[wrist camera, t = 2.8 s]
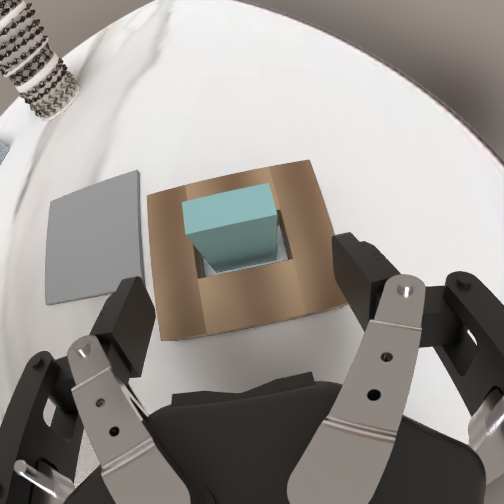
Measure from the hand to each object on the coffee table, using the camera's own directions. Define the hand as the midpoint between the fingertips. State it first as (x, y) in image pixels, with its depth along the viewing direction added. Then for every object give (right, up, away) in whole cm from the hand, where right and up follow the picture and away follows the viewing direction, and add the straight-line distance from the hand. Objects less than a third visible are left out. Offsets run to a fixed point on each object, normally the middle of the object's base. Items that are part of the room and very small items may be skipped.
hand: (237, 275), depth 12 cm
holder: (0, +1, +13) cm, 12 cm away
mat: (-16, +2, +14) cm, 21 cm away
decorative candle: (-31, +25, +23) cm, 46 cm away
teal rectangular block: (0, +1, +13) cm, 12 cm away
